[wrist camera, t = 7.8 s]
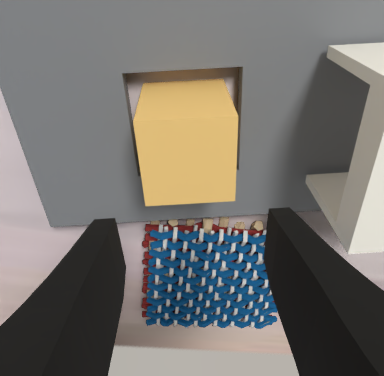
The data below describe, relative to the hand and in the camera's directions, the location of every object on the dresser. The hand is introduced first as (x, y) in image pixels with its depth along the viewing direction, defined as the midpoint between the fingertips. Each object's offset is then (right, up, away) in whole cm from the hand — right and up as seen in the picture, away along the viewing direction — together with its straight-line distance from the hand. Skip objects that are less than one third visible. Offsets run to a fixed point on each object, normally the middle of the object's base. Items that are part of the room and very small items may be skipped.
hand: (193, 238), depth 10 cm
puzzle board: (0, +5, +8) cm, 9 cm away
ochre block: (0, +5, +8) cm, 10 cm away
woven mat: (+2, -4, +15) cm, 16 cm away
